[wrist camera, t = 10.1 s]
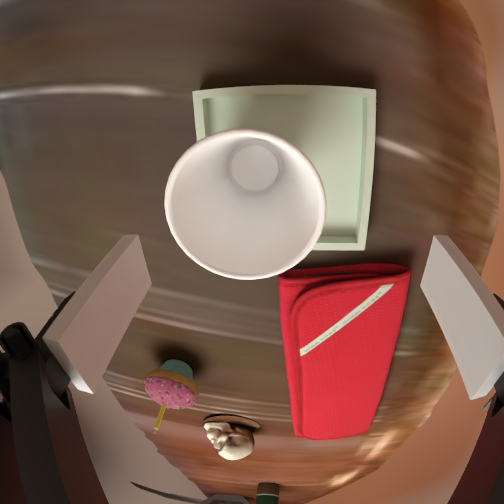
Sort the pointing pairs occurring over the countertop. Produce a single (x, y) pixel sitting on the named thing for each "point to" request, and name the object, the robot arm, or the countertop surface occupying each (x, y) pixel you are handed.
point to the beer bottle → (267, 493)
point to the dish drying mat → (339, 343)
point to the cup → (245, 203)
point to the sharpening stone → (225, 499)
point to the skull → (231, 435)
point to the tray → (310, 142)
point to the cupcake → (171, 387)
